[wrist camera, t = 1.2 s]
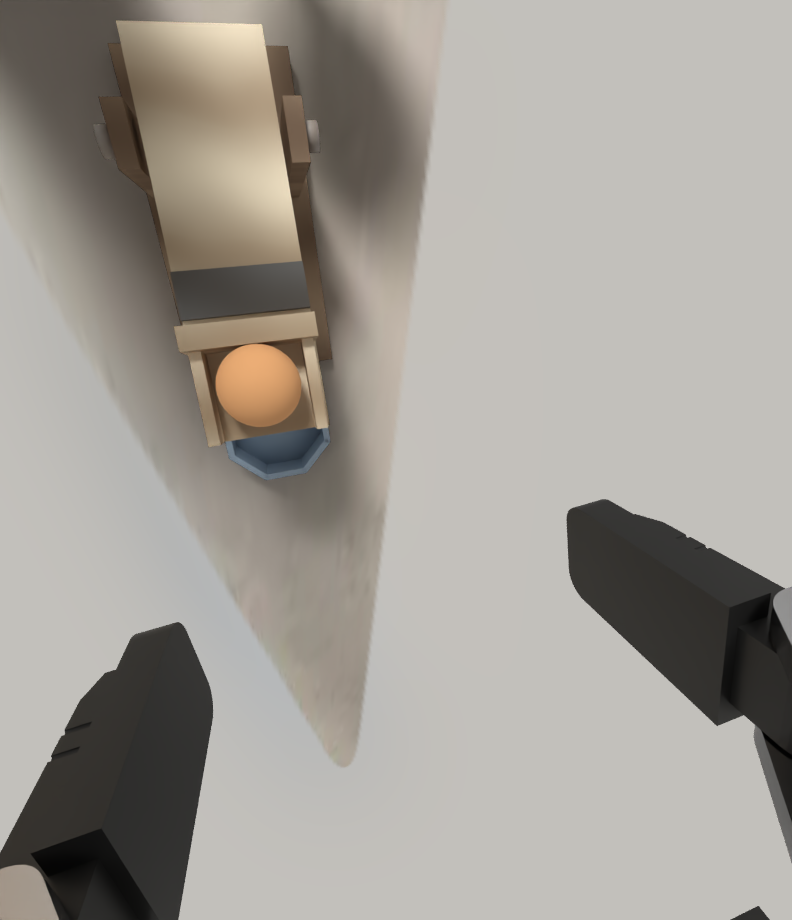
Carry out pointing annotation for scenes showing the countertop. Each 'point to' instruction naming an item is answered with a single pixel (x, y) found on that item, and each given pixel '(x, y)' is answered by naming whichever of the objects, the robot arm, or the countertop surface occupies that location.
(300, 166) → the stand
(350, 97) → the countertop surface
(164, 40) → the lever
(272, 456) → the blue-grey shallow bowl
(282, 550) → the countertop surface
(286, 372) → the ball
